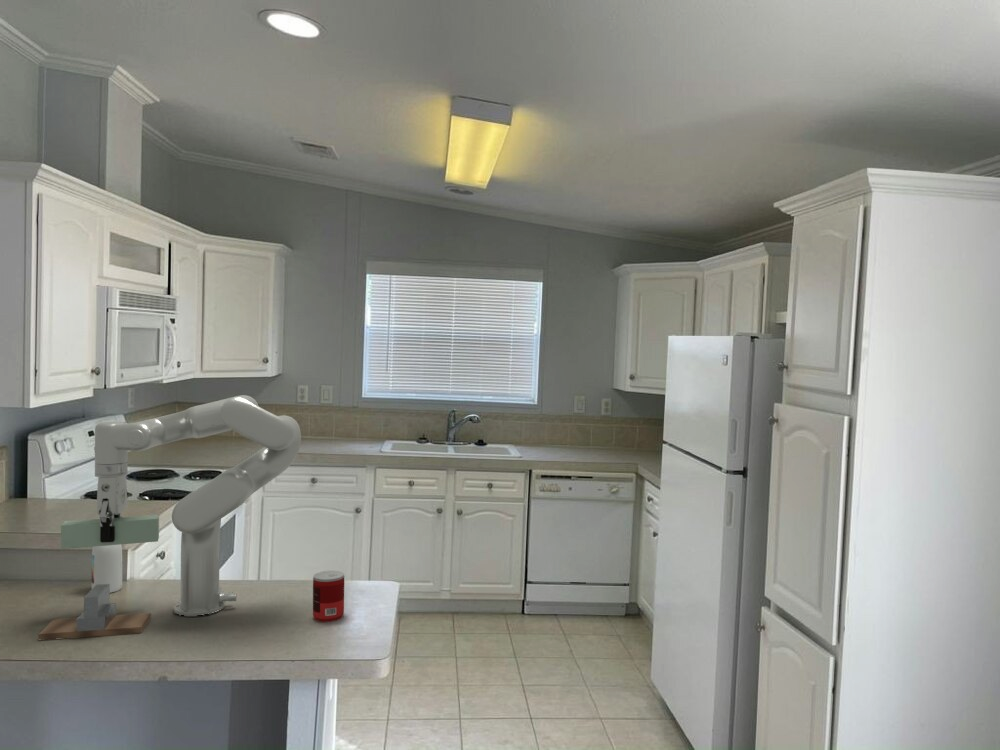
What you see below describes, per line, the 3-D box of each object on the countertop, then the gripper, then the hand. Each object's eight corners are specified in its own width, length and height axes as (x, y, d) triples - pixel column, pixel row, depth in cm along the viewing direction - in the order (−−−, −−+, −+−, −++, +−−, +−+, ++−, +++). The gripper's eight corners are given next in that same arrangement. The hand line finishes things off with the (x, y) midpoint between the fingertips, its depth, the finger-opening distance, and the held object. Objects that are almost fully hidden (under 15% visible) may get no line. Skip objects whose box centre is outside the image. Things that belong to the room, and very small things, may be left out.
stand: (150, 618, 183) (150, 581, 183) (141, 633, 173) (141, 593, 173) (53, 625, 177) (53, 587, 177) (38, 640, 168) (38, 600, 167)
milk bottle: (128, 586, 208) (128, 518, 208) (109, 595, 200) (109, 524, 200) (104, 585, 209) (105, 516, 209) (84, 593, 202) (85, 522, 201)
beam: (159, 537, 193) (159, 514, 193) (157, 541, 188) (157, 518, 188) (64, 544, 185) (64, 521, 185) (60, 549, 180) (60, 525, 180)
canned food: (349, 614, 188) (350, 572, 188) (330, 624, 181) (331, 581, 181) (326, 609, 191) (326, 568, 191) (306, 619, 184) (306, 576, 184)
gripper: (117, 474, 179) (117, 546, 179) (135, 464, 195) (135, 530, 196) (84, 475, 177) (84, 548, 177) (105, 465, 194) (105, 532, 194)
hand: (111, 538), depth 186 cm, fingers closed on beam, 5 cm apart
